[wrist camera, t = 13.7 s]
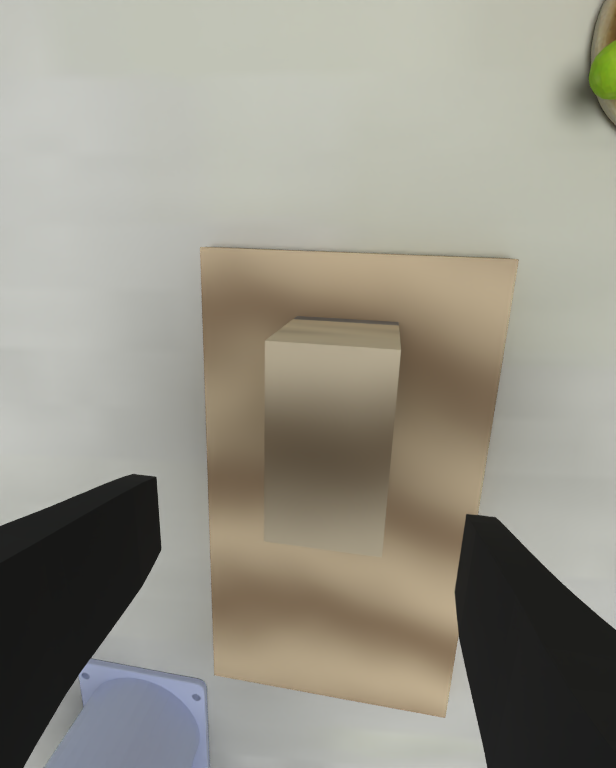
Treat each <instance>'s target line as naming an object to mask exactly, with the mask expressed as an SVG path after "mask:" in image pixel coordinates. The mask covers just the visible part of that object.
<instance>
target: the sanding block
mask: <svg viewBox="0 0 616 768" xmlns="http://www.w3.org/2000/svg"><path fill="white" fill-rule="evenodd" d="M400 356H401V343H400V331H399V322H390V321H373V320H356V319H339V318H322V317H305V316H296V317H295V318H294V319H293V320H291V321H290V322H289V323H287V324H286V325H285V326H283V327H282V328H281V329H280V330H278V331H277V332H276V333H274V334H273V335H272V336H270V337H269V338H268V339H266V340H265V431H264V542H271V543H279V544H286V545H293V546H301V547H308V548H315V549H323V550H330V551H337V552H345V553H352V554H360V555H367V556H374V557H382V550H383V539H384V528H385V518H386V507H387V496H388V485H389V475H390V464H391V453H392V442H393V431H394V421H395V410H396V399H397V388H398V378H399V367H400Z"/></svg>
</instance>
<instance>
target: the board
mask: <svg viewBox="0 0 616 768" xmlns="http://www.w3.org/2000/svg"><path fill="white" fill-rule="evenodd" d="M200 258H201V288H202V318H203V348H204V379H205V409H206V439H207V469H208V499H209V529H210V559H211V589H212V619H213V649H214V675H216V676H221V677H227V678H232V679H238V680H243V681H248V682H254V683H259V684H265V685H270V686H276V687H281V688H286V689H292V690H297V691H303V692H308V693H313V694H319V695H324V696H330V697H335V698H340V699H346V700H351V701H357V702H362V703H368V704H373V705H378V706H384V707H389V708H395V709H400V710H405V711H411V712H416V713H422V714H427V715H432V716H438V717H443V718H445V716H446V710H447V703H448V697H449V691H450V685H451V679H452V672H453V666H454V660H455V654H456V647H457V641H458V635H459V633H458V624H457V614H456V603H455V585H456V578H457V572H458V565H459V559H460V552H461V546H462V539H463V532H464V526H465V519H466V514H472V515H478V510H479V504H480V498H481V491H482V485H483V479H484V473H485V466H486V460H487V454H488V448H489V442H490V435H491V429H492V423H493V417H494V410H495V404H496V398H497V392H498V385H499V379H500V373H501V367H502V360H503V354H504V348H505V342H506V335H507V329H508V323H509V317H510V311H511V304H512V298H513V292H514V286H515V279H516V273H517V267H518V261H519V260H518V259H510V258H484V257H458V256H432V255H405V254H379V253H353V252H327V251H301V250H275V249H248V248H222V247H200ZM296 316H305V317H322V318H339V319H356V320H373V321H390V322H399V331H400V343H401V356H400V367H399V378H398V388H397V399H396V410H395V421H394V431H393V442H392V453H391V464H390V475H389V485H388V496H387V507H386V518H385V528H384V539H383V550H382V557H374V556H367V555H360V554H352V553H345V552H337V551H330V550H323V549H315V548H308V547H301V546H293V545H286V544H279V543H271V542H264V431H265V340H266V339H268V338H269V337H270V336H272V335H273V334H274V333H276V332H277V331H278V330H280V329H281V328H282V327H283V326H285V325H286V324H287V323H289V322H290V321H291V320H293V319H294V318H295V317H296Z"/></svg>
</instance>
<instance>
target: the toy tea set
mask: <svg viewBox="0 0 616 768" xmlns="http://www.w3.org/2000/svg"><path fill="white" fill-rule="evenodd" d="M589 83H590V87H591V89H592V90H593V92H594V93H595V94H596V96H597V98H598V101H599V103H600V105H601V107H602V109H603V110H604V112H605V114H606V115H607V116H608V118H609V119H610V120H611V121H612V122H613V123H614V124H615V126H616V0H605V2H604V4H603V6H602V8H601V11H600V14H599V16H598V19H597V22H596V25H595V31H594V36H593V41H592V47H591V69H590V73H589Z"/></svg>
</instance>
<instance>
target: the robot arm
mask: <svg viewBox="0 0 616 768" xmlns="http://www.w3.org/2000/svg"><path fill="white" fill-rule="evenodd" d="M160 551H161V536H160V522H159V508H158V493H157V479H156V477H153V476H145V475H136V474H132V475H128V476H125V477H122V478H119V479H116V480H114V481H111V482H109V483H106V484H104V485H101V486H99V487H96V488H94V489H91V490H89V491H87V492H84V493H82V494H79V495H77V496H75V497H72V498H70V499H67V500H65V501H63V502H60V503H58V504H56V505H53V506H51V507H48V508H46V509H43V510H41V511H38V512H35V513H33V514H30V515H28V516H25V517H22V518H20V519H17V520H15V521H12V522H9V523H7V524H4V525H2V526H0V768H23V767H24V765H25V764H26V762H27V760H28V758H29V757H30V755H31V753H32V751H33V749H34V748H35V746H36V744H37V742H38V741H39V739H40V737H41V736H42V734H43V732H44V730H45V729H46V727H47V725H48V724H49V722H50V720H51V719H52V717H53V715H54V714H55V712H56V710H57V708H58V707H59V705H60V703H61V702H62V700H63V698H64V697H65V695H66V693H67V692H68V690H69V689H70V687H71V686H72V684H73V683H74V681H75V680H76V678H77V677H78V675H79V680H80V687H81V694H82V701H83V709H82V711H81V712H80V714H79V715H78V717H77V718H76V720H75V721H74V723H73V724H72V726H71V727H70V729H69V730H68V732H67V733H66V735H65V736H64V738H63V739H62V741H61V742H60V744H59V745H58V747H57V748H56V750H55V752H54V753H53V755H52V756H51V758H50V759H49V761H48V762H47V764H46V765H45V767H44V768H210V759H209V734H208V709H207V686H206V684H205V682H204V681H202V680H200V679H197V678H192V677H186V676H181V675H176V674H170V673H165V672H160V671H154V670H149V669H144V668H138V667H133V666H127V665H122V664H117V663H111V662H106V661H101V660H95V659H91V657H92V656H93V654H94V653H95V652H96V650H97V649H98V648H99V646H100V645H101V643H102V642H103V641H104V639H105V638H106V636H107V635H108V634H109V632H110V631H111V630H112V628H113V627H114V625H115V624H116V623H117V621H118V620H119V618H120V617H121V616H122V614H123V613H124V611H125V610H126V609H127V607H128V606H129V604H130V603H131V602H132V600H133V599H134V597H135V596H136V594H137V593H138V592H139V590H140V589H141V587H142V585H143V584H144V582H145V580H146V578H147V576H148V575H149V573H150V571H151V569H152V567H153V565H154V563H155V561H156V559H157V557H158V555H159V553H160ZM455 603H456V614H457V624H458V633H459V640H460V645H461V649H462V654H463V658H464V663H465V667H466V672H467V677H468V681H469V685H470V690H471V694H472V699H473V703H474V708H475V712H476V716H477V721H478V725H479V730H480V734H481V739H482V743H483V748H484V752H485V758H486V763H487V768H616V630H615V629H614V628H613V627H612V626H610V625H609V624H608V623H607V622H605V621H604V620H603V619H602V618H601V617H599V616H598V615H597V614H596V613H595V612H594V611H593V610H591V609H590V608H589V607H588V606H587V605H586V604H585V603H583V602H582V601H581V600H580V599H579V598H578V597H577V596H575V595H574V594H573V593H572V592H571V591H570V590H569V589H568V588H567V587H566V586H565V585H563V584H562V583H561V582H560V581H559V580H558V579H557V578H556V577H555V576H554V575H553V574H552V573H551V572H550V571H549V570H548V569H547V568H546V567H545V566H544V565H543V564H542V563H541V562H540V561H539V560H538V559H537V558H536V557H535V556H534V555H533V554H532V553H531V552H530V551H529V550H528V549H527V548H526V547H525V546H524V545H523V544H522V543H521V542H520V541H519V540H518V539H517V538H516V537H515V536H514V535H513V534H512V533H511V532H510V531H509V530H508V529H507V528H506V527H505V526H504V525H503V524H502V523H501V522H500V521H499V520H498V519H497V518H496V517H488V516H480V515H472V514H466V519H465V526H464V532H463V539H462V546H461V552H460V559H459V565H458V572H457V578H456V585H455ZM197 694H198V695H197Z"/></svg>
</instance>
